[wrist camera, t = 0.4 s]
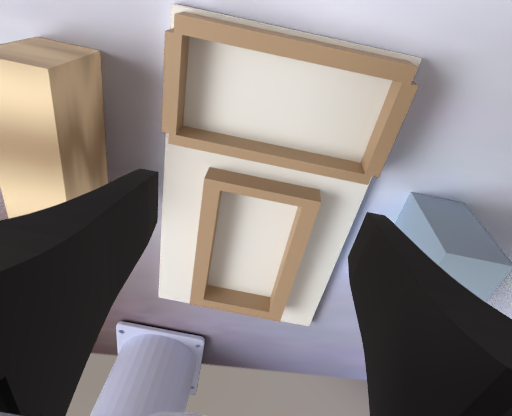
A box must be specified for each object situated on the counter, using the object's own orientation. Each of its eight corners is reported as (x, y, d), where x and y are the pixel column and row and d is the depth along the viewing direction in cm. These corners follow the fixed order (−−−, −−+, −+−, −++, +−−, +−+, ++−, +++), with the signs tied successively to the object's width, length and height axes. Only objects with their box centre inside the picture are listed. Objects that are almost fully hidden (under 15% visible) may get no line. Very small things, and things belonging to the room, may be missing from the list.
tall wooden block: (109, 189, 24) (71, 232, 20) (58, 179, 24) (9, 220, 20) (101, 50, 19) (47, 68, 15) (37, 36, 19) (-35, 51, 15)
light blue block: (410, 289, 26) (438, 360, 21) (365, 280, 26) (383, 349, 21) (463, 202, 22) (514, 266, 17) (410, 191, 22) (446, 252, 17)
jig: (308, 320, 29) (309, 342, 27) (160, 291, 29) (152, 311, 27) (418, 57, 18) (432, 65, 16) (174, 3, 17) (161, 5, 16)
